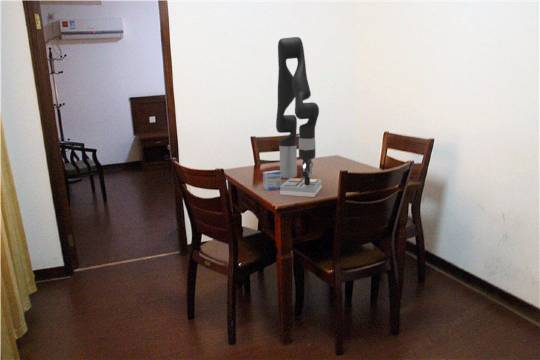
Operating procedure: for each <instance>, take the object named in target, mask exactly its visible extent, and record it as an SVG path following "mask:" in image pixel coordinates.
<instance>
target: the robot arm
mask: <svg viewBox="0 0 540 360" xmlns="http://www.w3.org/2000/svg"><path fill="white" fill-rule="evenodd" d="M277 57H278V58H277V61H278V73H277V74H278V77H277V107H276V108H277V111H276V117H275V118H276V119H275V121H276V122H275V128H276V131H277V132H278V133H279V134H280V133H281V134H285V133H286V134H287V133H289V134H288V136H286V137H284V138H281V139H279V140H278V141H279V142H278V144H279V145H278V146H279V148H278V149H279V171H281V179H282V178H283V179H290V178H297V176H298V164H297V163H298V162H297V161H298V160H297V158H299V159H301V160H302V162H301V167H300V171H301V174H302V178H304V179H305V185H309V184H310V179H311V175H312V172H313V167H314V163H313V161H312V160H314V159H316V126H317V122H318V118H319V114H320V107H319V106H318V104H317V103H315V102H311V101H310V102H304V101H306V100H308V99H310V97H311V95H312V93H311V89H310V86H309V81H308V75H307V65H306V57H305V47H304V44H303V40H302V39H301V38H300V37H299V36H294V37H293V36H292V37H285V38H284V37H283V38H280V39H279V40H278V42H277ZM291 59H292V60H293V59H296V60H297V66H296V69H295V72H294V75H293V74H292V72H291V71H290V70H289V67H288V64H287V60H291ZM293 101H294V103H295V104H294V114H285V112H286V110H287V108H288V107H290V105H291V104H292V102H293ZM297 119H298V120H307V121H306V122H305V123H302V124H300V125H299V128H298V127H297V126H298V122H297V121H298V120H297ZM297 129H299V130H297ZM297 131H299V132H297ZM297 133H298V135H299V136H298V137H299V138H298V143H297ZM297 145H298V147H297ZM297 148H298V150H297ZM297 151H298V152H297ZM297 154H298V157H297Z"/></svg>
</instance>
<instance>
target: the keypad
mask: <svg viewBox="0 0 540 360" xmlns="http://www.w3.org/2000/svg"><path fill="white" fill-rule="evenodd" d="M291 179H292V178H287V180H286V181H285V182H283V183H281V186H280V189H279V190H280V191H279V194H280V196H282V195H283V196H293V197H294V196H295V197H310V198H314V197H316V195H317V194H318V193H319V192H320V191H321V189H322V188H323V185H322V184H323V180H322V179H317V183H310V184H309V185H314V186H313V187H312V188H310V187H301V186H302V185H303V184H305V178H301V179H302V182H301V183H299V182H298V185H297V186H296V187H294V186H285V184H286V183H287V182H290V180H291Z"/></svg>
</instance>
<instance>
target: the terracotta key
mask: <svg viewBox="0 0 540 360" xmlns="http://www.w3.org/2000/svg"><path fill="white" fill-rule="evenodd" d="M302 179H303V178H297V177H294V178H292V179H291V180H290V182H299V183H301V182H302Z"/></svg>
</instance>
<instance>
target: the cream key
mask: <svg viewBox="0 0 540 360" xmlns="http://www.w3.org/2000/svg"><path fill="white" fill-rule="evenodd" d="M317 180H318V179H315V178H314V179H313V178H310V183H317Z"/></svg>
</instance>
